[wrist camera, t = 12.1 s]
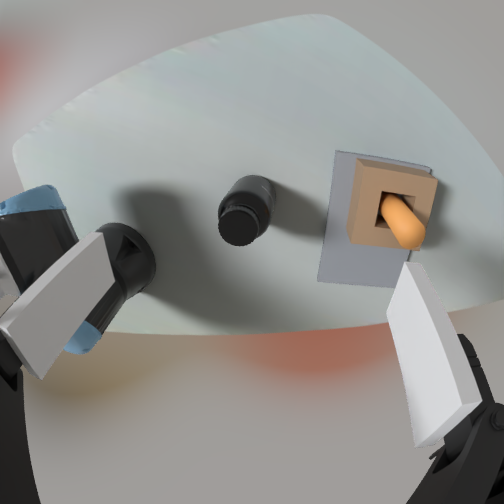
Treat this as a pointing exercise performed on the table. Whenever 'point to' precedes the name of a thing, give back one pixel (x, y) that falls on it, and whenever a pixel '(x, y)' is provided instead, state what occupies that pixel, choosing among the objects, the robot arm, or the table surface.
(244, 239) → the supplement bottle
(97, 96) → the table surface
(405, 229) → the peg
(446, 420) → the robot arm
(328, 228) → the socket board
